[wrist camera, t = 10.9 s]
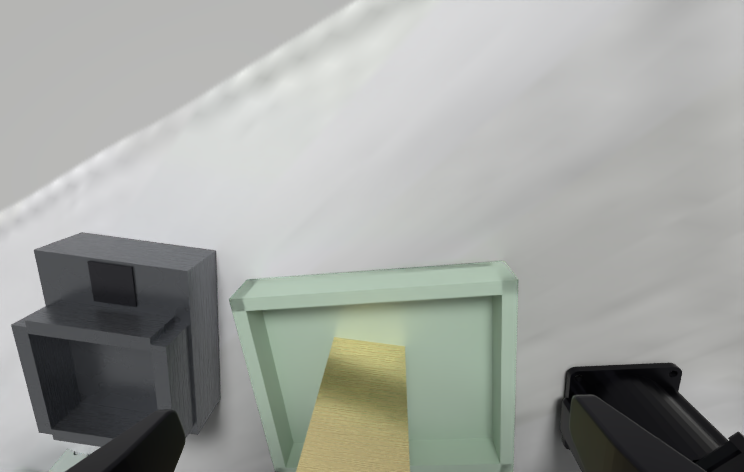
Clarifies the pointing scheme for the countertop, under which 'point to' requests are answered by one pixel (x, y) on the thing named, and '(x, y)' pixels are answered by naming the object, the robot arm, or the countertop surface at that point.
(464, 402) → the parts tray
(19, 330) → the dark grey stepped fixture
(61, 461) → the metal bracket
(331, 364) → the tan note paper block
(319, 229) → the countertop surface
